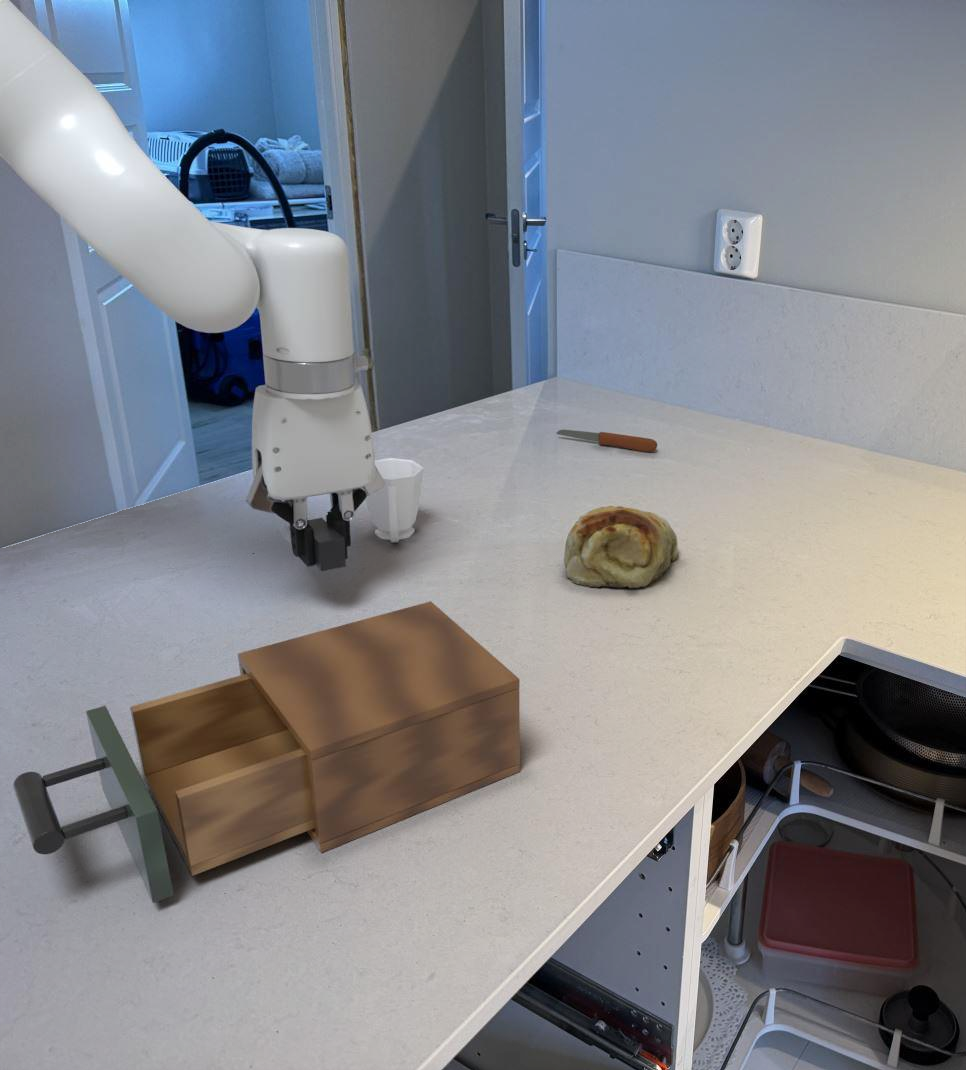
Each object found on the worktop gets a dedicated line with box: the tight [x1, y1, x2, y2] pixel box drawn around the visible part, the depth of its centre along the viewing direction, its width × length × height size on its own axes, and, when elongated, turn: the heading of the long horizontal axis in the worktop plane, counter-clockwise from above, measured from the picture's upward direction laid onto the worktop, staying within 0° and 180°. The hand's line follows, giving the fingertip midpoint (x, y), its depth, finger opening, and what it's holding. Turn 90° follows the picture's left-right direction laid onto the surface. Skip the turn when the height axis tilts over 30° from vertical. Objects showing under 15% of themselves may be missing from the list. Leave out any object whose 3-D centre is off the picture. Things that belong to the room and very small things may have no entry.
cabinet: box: [237, 600, 521, 853], centre depth 76 cm, size 16×15×9 cm
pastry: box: [563, 505, 679, 589], centre depth 110 cm, size 14×12×8 cm
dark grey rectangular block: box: [279, 517, 347, 572], centre depth 97 cm, size 10×3×3 cm, turn 41°
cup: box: [365, 457, 424, 543], centre depth 113 cm, size 7×10×8 cm
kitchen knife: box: [555, 429, 658, 453], centre depth 149 cm, size 16×1×2 cm, turn 79°
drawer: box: [12, 674, 315, 904], centre depth 68 cm, size 20×13×7 cm
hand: (322, 556), depth 96 cm, fingers closed on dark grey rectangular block, 2 cm apart
